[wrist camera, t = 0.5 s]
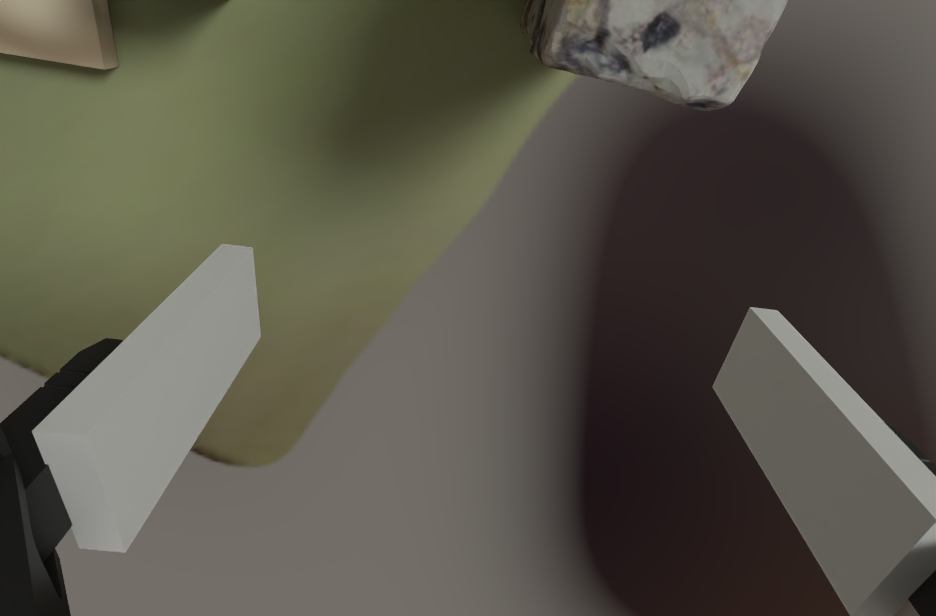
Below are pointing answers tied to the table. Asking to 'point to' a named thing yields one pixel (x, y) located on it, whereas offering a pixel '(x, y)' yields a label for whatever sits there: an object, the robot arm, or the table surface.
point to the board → (59, 31)
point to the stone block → (656, 43)
